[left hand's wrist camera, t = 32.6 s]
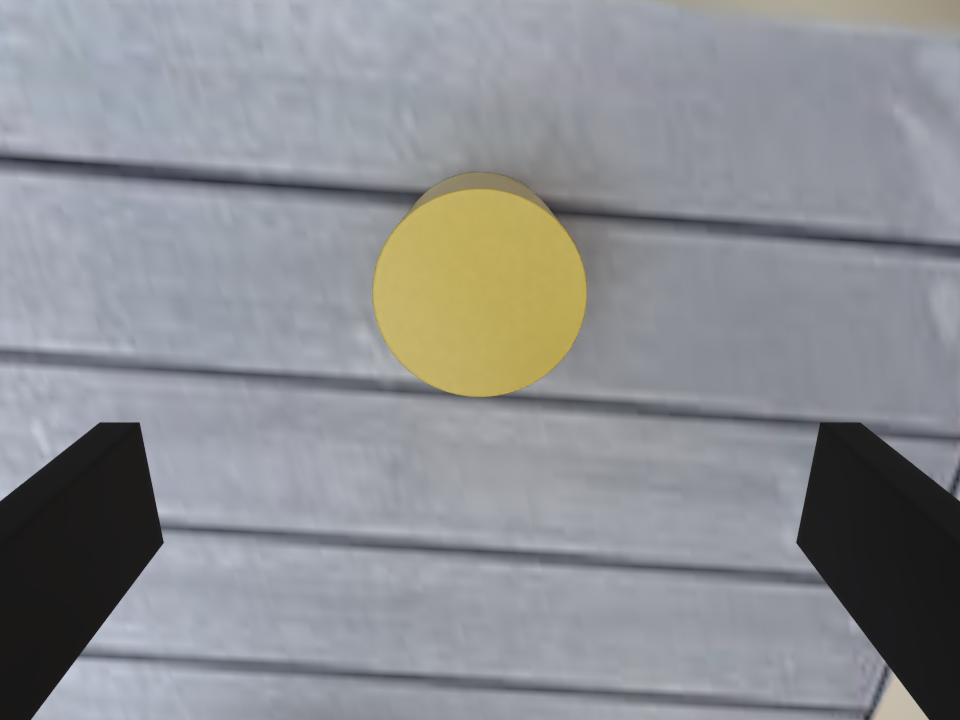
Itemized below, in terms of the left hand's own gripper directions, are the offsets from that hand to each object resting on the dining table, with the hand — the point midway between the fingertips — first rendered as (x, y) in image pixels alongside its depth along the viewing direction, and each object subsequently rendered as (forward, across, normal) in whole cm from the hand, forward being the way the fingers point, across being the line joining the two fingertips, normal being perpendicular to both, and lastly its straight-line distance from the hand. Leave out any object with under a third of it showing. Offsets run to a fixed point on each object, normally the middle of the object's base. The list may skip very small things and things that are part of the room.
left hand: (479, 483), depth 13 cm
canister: (+23, 0, 0) cm, 23 cm away
